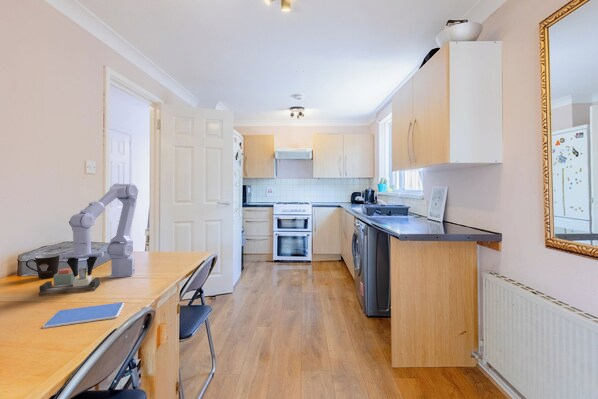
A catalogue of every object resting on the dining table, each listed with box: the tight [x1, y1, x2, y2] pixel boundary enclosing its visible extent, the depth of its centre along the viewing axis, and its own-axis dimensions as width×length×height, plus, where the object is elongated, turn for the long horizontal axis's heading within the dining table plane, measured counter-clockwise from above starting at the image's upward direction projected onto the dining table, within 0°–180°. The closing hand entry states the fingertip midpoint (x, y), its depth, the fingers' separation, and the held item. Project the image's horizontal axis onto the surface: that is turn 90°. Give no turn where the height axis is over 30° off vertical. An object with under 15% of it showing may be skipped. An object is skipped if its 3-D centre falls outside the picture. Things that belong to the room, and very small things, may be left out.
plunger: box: [58, 267, 72, 274], centre depth 121 cm, size 3×3×4 cm
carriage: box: [73, 267, 93, 287], centre depth 116 cm, size 5×5×6 cm
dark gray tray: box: [37, 276, 101, 297], centre depth 115 cm, size 18×8×4 cm, turn 111°
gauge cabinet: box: [53, 271, 78, 286], centre depth 121 cm, size 6×6×5 cm
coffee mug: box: [25, 253, 61, 280], centre depth 131 cm, size 12×9×10 cm
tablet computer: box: [42, 302, 125, 329], centre depth 93 cm, size 19×13×1 cm, turn 112°
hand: (82, 275), depth 116 cm, fingers open, 4 cm apart
